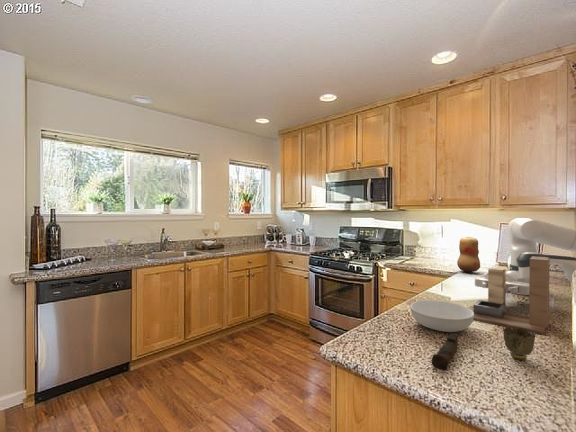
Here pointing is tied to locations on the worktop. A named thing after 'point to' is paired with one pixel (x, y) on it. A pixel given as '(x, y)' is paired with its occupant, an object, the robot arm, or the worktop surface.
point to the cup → (519, 342)
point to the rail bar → (497, 285)
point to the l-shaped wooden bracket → (537, 303)
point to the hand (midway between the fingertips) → (496, 288)
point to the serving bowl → (442, 315)
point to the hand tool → (445, 353)
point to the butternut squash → (468, 255)
